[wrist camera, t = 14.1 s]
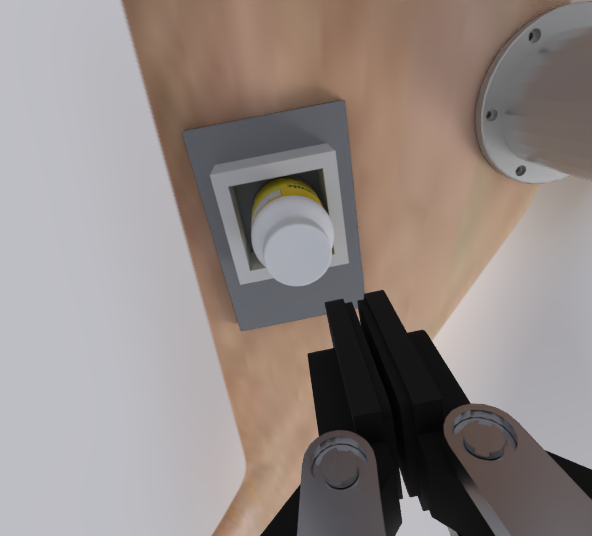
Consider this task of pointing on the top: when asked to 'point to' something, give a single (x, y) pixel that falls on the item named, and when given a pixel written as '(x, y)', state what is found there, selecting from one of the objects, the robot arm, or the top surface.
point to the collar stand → (247, 181)
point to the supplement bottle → (291, 231)
